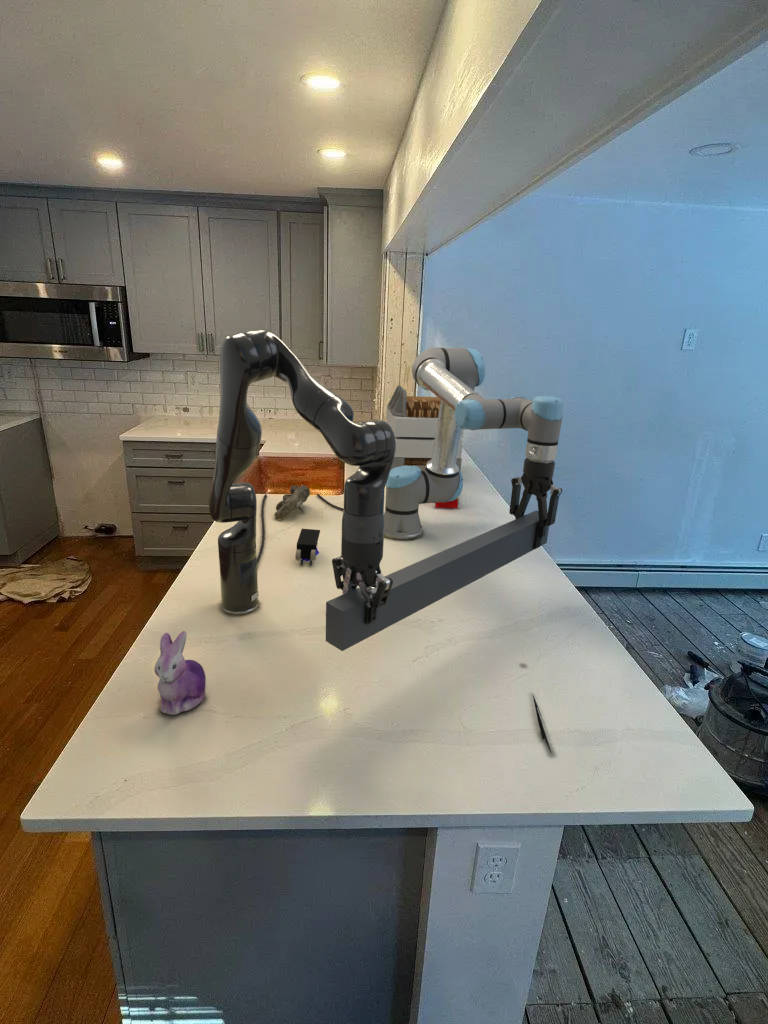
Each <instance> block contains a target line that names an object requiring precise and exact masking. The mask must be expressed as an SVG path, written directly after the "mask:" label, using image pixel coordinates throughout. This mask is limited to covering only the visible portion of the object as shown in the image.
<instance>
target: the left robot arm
mask: <svg viewBox="0 0 768 1024" xmlns="http://www.w3.org/2000/svg"><path fill="white" fill-rule="evenodd" d="M219 373H220V374H219V378H220V379H219V380H220V396H219V397H220V398H219V399H220V402H219V414H218V415H219V416H218V422H217V423H218V424H217V430H216V439H215V440H216V442H215V459H214V460H215V461H214V469H213V474H212V479H211V484H210V488H209V494H208V510H209V511H208V512H209V514H210V517H211V518H212V520H213V521H215V522H216V523H220V524H226V523H235V522H236V523H235V524H234V525H233V526H231V527H229V528H228V529H225V530H224V531H222V532H220V534H219V535H218V537H217V548H218V550H217V551H218V565H219V580H220V599H221V604H220V605H221V610H222V611H223V612H224V613H226V614H229V615H234V616H240V615H247V614H250V613H253V612H254V611H256V610H257V609H258V608H259V604H260V603H259V597H260V596H259V595H260V593H259V585H258V583H259V581H258V564H259V561H260V559H261V557H262V554H263V550H264V545H265V536H266V535H265V533H266V530H265V515H264V506H265V501H266V499H267V495H268V494H267V493H265V494H264V495H263V498H262V503H261V513H260V514H261V528H262V529H261V532H262V536H261V543H260V548H259V552H258V555H257V512H258V511H257V509H258V508H257V507H258V506H257V495H256V494H257V493H256V490H255V488H254V486H253V484H251V483H250V482H236V481H237V479H239V477H240V476H242V475H243V474H244V473H245V472H246V471H247V470H248V469H249V468H250V467H251V466H252V465H253V463H254V462H255V461H256V460H257V457H258V456H259V452H260V447H261V442H262V433H263V427H262V424H261V422H260V420H259V418H258V417H257V414H256V413H255V412H254V411H253V409H252V408H251V407H250V405H249V403H248V398H247V397H248V390H249V387H250V385H251V384H252V383H253V384H254V383H256V382H260V381H264V380H267V379H270V378H273V377H274V378H278V379H279V380H281V381H283V382H284V383H286V384H287V385H288V388H289V392H290V398H291V402H292V405H293V407H294V409H295V411H296V412H297V413H298V415H299V416H300V417H301V418H302V419H303V420H304V421H305V422H307V423H308V424H309V425H310V426H312V428H314V429H315V430H316V431H317V432H319V433H320V434H321V435H322V436H323V438H324V440H325V442H326V443H327V445H328V446H329V448H330V449H331V451H332V452H333V453H334V455H335V456H336V457H337V458H338V459H339V460H340V461H341V462H343V463H344V464H346V465H349V466H351V467H358V469H357V470H356V471H355V472H354V473H353V474H352V475H350V476H349V477H348V478H346V479H345V481H344V485H343V509H344V510H342V512H343V513H342V518H341V540H340V541H341V544H340V545H341V546H340V555H339V556H337V557H334V558H332V559H331V564H332V570H333V575H334V582H335V587H336V589H337V590H341V591H342V595H343V594H345V593H348V592H350V591H352V590H355V589H357V588H359V587H360V590H361V595H362V596H364V600H365V605H366V606H365V615H364V623H365V624H367V625H369V624H371V623H373V622H374V621H375V620H376V618H377V608H379V607H380V606H382V605H385V604H386V603H387V600H388V597H389V594H390V591H391V587H392V584H393V580H392V578H388V579H386V578H385V577H384V575H383V574H382V570H381V566H380V565H381V561H382V560H383V557H384V545H385V544H384V541H385V540H384V539H385V537H384V513H385V490H386V482H387V480H388V477H389V473H390V470H391V466H392V463H393V459H394V455H395V450H396V440H395V435H394V432H393V430H392V428H391V426H390V425H389V424H388V423H387V422H386V420H383V419H370V420H364V421H359V422H354V418H355V417H354V415H355V414H354V410H353V407H352V406H351V405H350V403H348V402H347V401H346V400H345V399H344V398H342V397H341V396H340V395H338V394H337V393H336V392H334V390H332V389H331V388H329V387H328V386H326V385H325V384H324V383H323V382H321V381H320V380H319V379H318V378H317V377H316V376H314V374H313V373H312V372H311V371H310V370H309V369H308V368H307V367H306V366H305V364H304V363H303V362H302V361H301V360H300V359H299V358H298V357H297V356H296V354H295V353H294V352H293V351H292V350H291V349H290V348H289V347H288V346H287V344H286V343H285V342H284V341H283V340H282V339H281V338H280V337H279V336H277V334H276V333H274V332H272V331H271V330H268V329H265V328H260V329H253V330H249V331H244V332H238V333H235V334H231V335H228V336H227V337H226V338H224V340H223V341H222V343H221V346H220V352H219ZM235 482H236V483H235ZM370 586H372V587H371V588H369V589H367V588H368V587H370ZM371 594H372V598H373V599H371V598H370V595H371Z"/></svg>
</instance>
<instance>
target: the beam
mask: <svg viewBox="0 0 768 1024" xmlns="http://www.w3.org/2000/svg"><path fill="white" fill-rule="evenodd" d="M538 524H539V514H538V510H534V511H531V512H528V513H527V514H524V516H522V517H520V518H517V519H515V518H514V519H512V520H511V521H508V522H506V523H504V524H501V525H499V526H497V527H495V528H493V529H492V528H491V529H490V530H488V531H485V532H483V533H480V534H478V535H476V536H473V537H472V538H469V539H467V540H465V541H462V542H461V543H458V544H456V545H453V546H451V547H449V548H446V549H444V550H442V551H440V552H437V553H435V554H433V555H431V556H428V557H426V558H423V559H421V560H419V561H416V562H414V563H412V564H409V565H407V566H405V567H402V568H400V569H398V570H396V571H394V572H391V573H389V574H387V575H385V576H384V575H383V576H384V577H385V578H386V579H388V578H392V580H393V584H392V587H391V591H390V594H389V597H388V600H387V603H386V604H385V605H382V606H380V607H379V608H377V618H376V620H375V621H374V622H373V623H371V624H369V625H367V624H365V623H364V615H365V606H366V605H365V600H364V596H362V595H361V590H360V587H359V586H358V587H357V589H355V590H352V591H350V592H348V593H345V594H343V593H342V594H341V595H339V596H337V597H333V598H332V599H329V600H327V601H326V602H325V642H326V643H328V644H330V645H331V646H333V647H335V648H336V649H338V650H339V651H341V652H344V651H345V650H346V651H347V649H349V648H351V647H353V646H355V645H357V644H359V643H361V642H363V641H364V640H367V639H368V638H371V637H372V636H374V635H376V634H378V633H379V632H381V631H383V630H385V629H387V628H389V627H391V626H393V625H395V624H396V623H399V622H401V621H402V620H404V619H406V618H409V617H410V616H412V615H413V614H416V613H417V612H419V611H421V610H423V609H425V608H427V607H430V605H433V604H435V603H436V602H438V601H440V600H442V599H444V598H446V597H447V596H449V595H451V594H453V593H455V592H457V591H459V590H461V589H463V588H465V587H467V586H468V585H470V584H473V583H474V582H476V581H478V580H480V579H481V578H484V577H485V576H487V575H489V574H491V573H493V572H495V571H496V570H499V569H501V568H502V567H504V566H506V565H509V564H510V563H512V562H514V561H516V560H517V559H519V558H521V557H523V556H525V555H527V554H529V553H531V552H533V551H535V549H533V543H534V537H535V530H536V525H538ZM549 531H550V526H547V528H546V534H545V536H544V537H542V540H541V546H540V547H542V546H545V545H546V544H547V543H548V537H549ZM371 587H372V586H370V587H368V588H367V589H369V588H371ZM370 598H371V599H373V598H372V594H371V595H370Z"/></svg>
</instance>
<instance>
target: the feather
mask: <svg viewBox="0 0 768 1024" xmlns="http://www.w3.org/2000/svg"><path fill="white" fill-rule="evenodd" d="M522 665H523V666H524V665H525V664H524V663H522ZM531 694H532V698H533V703H534V708H535V713H536V719H537V723H538V726H539V730H540V731H539V732H540V736H541V740H542V741H544V742H545V744H546V745H547V747H548V750H549V752H550V753H552V750H551V747H550V744H549V743H550V742H549V740H548V738H550V737H551V735H550V734H549V733H548V734H549V735H546V734H547V733H546V732H549V731H548V729H546V732H545V727H547V726H546V722H545V719H543V715H542V713H541V710H540V708H539V705H538V704H537V703H538V702H537V701H536V698H535V696H534V694H533V692H532V693H531ZM547 736H548V737H547ZM543 746H544V743H543ZM554 753H555V751H554Z"/></svg>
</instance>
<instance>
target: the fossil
mask: <svg viewBox="0 0 768 1024" xmlns="http://www.w3.org/2000/svg"><path fill="white" fill-rule="evenodd" d="M310 491H311V490H310V488H309V486H306V485H305V484H301V485H300V486H298V485H291V486H290V489H289V492H290V493H289V494H288V493H287V494H284V495H283V496H282V500H281V501H279V502H278V503H277V505H276V507H275V510H276V511H275V512H274V513H273V515H274V518H275V519H276V520H279V521H281V520H283V519H286V518H288V517H290V516H291V515H292V514H294V513H295V512H296V511H298V510H300V511H301V512H302V513H304V510H303V509H302V508H301V507H302V505H303V504H304V503H306V502H307V501H308V499H309V497H310V495H311V492H310Z"/></svg>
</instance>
